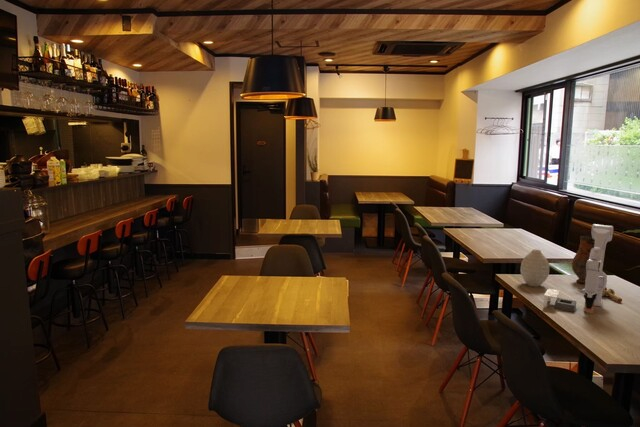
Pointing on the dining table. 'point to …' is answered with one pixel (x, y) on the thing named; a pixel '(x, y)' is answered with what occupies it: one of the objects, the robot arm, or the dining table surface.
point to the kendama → (611, 294)
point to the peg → (589, 309)
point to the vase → (535, 268)
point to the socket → (565, 304)
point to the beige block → (550, 296)
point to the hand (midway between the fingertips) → (589, 307)
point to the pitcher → (582, 258)
